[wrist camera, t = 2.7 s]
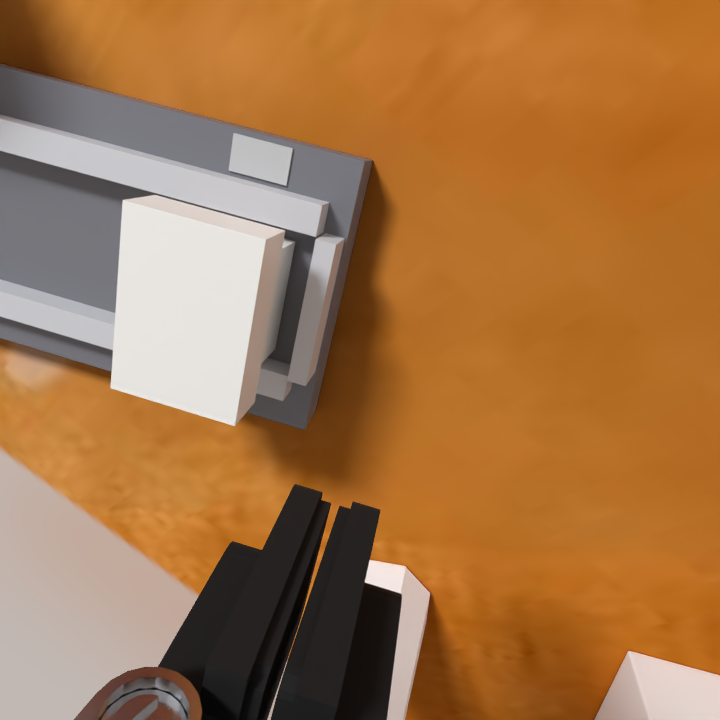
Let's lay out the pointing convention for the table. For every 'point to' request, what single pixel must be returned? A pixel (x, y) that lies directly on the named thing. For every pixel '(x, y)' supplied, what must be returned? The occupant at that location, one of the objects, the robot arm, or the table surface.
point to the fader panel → (173, 181)
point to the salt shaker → (403, 629)
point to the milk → (660, 692)
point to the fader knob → (196, 306)
